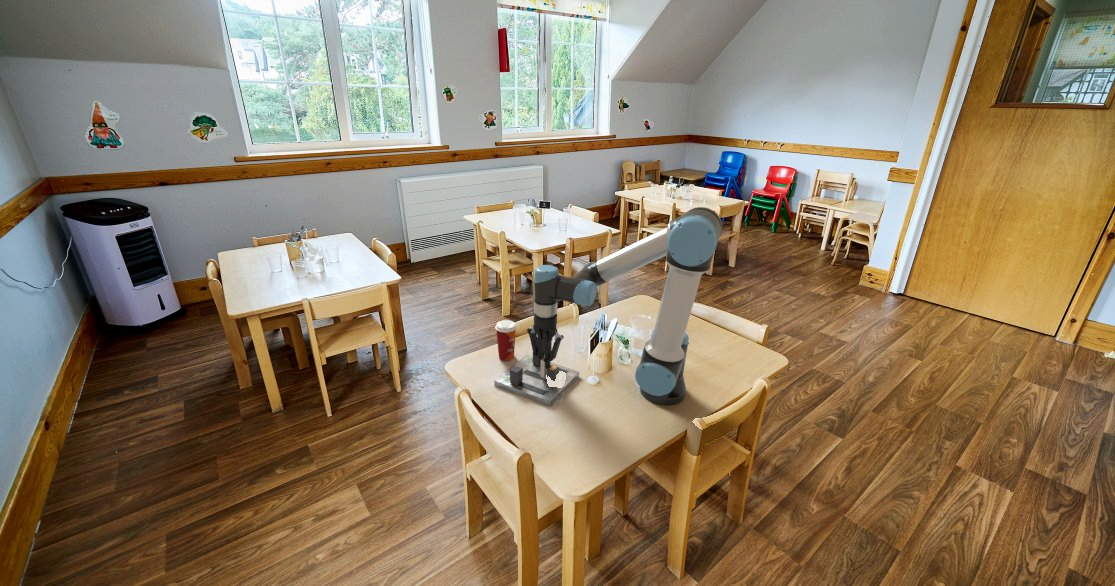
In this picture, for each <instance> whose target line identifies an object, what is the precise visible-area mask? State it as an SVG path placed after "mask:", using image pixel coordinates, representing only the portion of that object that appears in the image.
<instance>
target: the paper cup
mask: <svg viewBox="0 0 1115 586" xmlns="http://www.w3.org/2000/svg"><path fill="white" fill-rule="evenodd" d="M494 328H495V331H496V341H497V352H498V358H499V360H500V361H502V362H510V361H512V360H514V358H515V348H516V347H515V346H516V331H517V330H516V329H517V325H516V323H515V322H514V321H513V320H510V319H503V320H500V321H498V322H496V325H495V327H494Z"/></svg>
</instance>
